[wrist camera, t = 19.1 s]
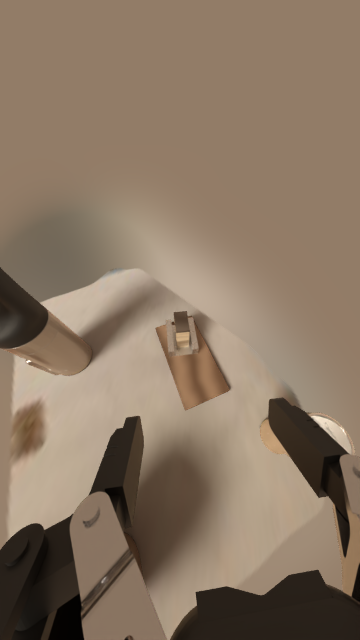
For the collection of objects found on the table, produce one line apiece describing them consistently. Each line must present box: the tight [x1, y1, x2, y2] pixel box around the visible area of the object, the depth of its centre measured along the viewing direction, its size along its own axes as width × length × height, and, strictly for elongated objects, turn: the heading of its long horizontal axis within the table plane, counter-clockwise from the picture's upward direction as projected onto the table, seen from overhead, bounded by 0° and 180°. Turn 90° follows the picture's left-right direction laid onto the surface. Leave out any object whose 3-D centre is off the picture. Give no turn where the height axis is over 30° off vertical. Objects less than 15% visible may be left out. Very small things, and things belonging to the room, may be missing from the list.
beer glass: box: [260, 413, 355, 458], centre depth 29 cm, size 7×7×15 cm
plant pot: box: [48, 533, 143, 640], centre depth 20 cm, size 15×15×16 cm
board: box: [156, 316, 230, 410], centre depth 44 cm, size 11×22×1 cm, turn 21°
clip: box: [166, 317, 199, 357], centre depth 44 cm, size 9×7×3 cm
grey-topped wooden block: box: [174, 311, 190, 348], centre depth 42 cm, size 5×3×9 cm, turn 7°
